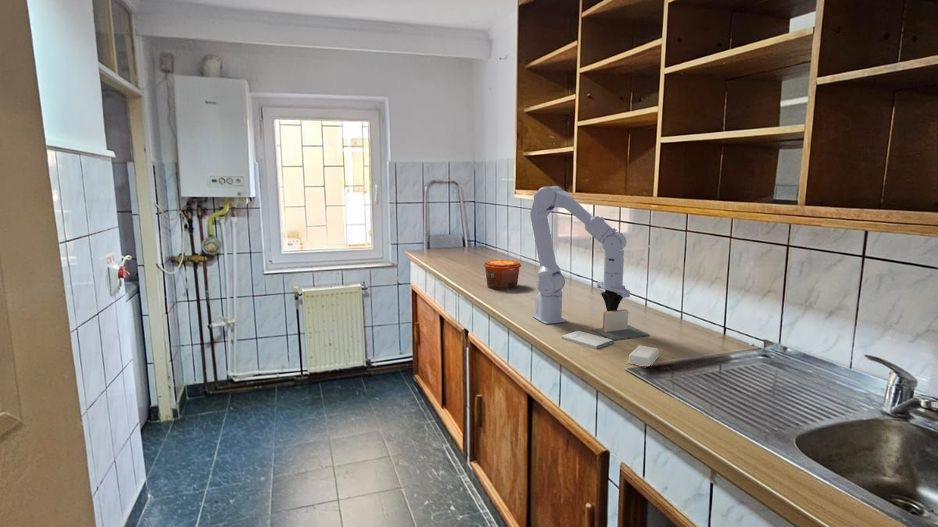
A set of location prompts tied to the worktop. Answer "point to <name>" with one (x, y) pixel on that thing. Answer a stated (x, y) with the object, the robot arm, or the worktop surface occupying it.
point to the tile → (615, 320)
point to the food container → (502, 274)
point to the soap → (643, 355)
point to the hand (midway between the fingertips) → (611, 315)
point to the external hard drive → (587, 339)
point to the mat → (621, 333)
